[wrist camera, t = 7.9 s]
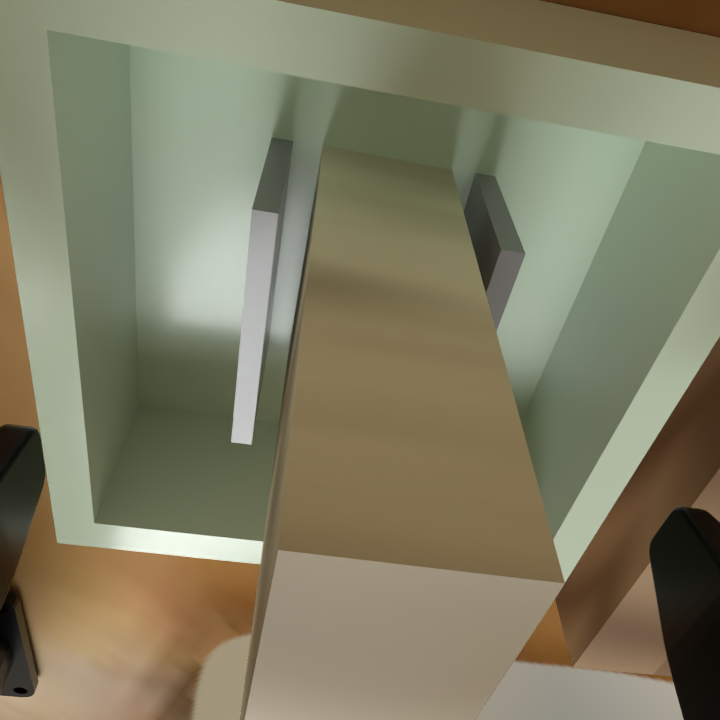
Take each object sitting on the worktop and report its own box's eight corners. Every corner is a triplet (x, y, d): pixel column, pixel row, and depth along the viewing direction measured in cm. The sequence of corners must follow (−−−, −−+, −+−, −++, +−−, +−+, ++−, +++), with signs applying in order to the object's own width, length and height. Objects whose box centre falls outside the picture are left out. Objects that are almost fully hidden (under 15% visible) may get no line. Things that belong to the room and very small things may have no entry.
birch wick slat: (393, 369, 16) (422, 800, 9) (288, 353, 16) (230, 786, 9) (452, 169, 13) (565, 583, 6) (322, 145, 13) (278, 549, 6)
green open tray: (523, 465, 19) (557, 595, 15) (111, 413, 17) (57, 542, 14) (726, 38, 12) (858, 116, 9) (80, -95, 11) (-36, -62, 8)
